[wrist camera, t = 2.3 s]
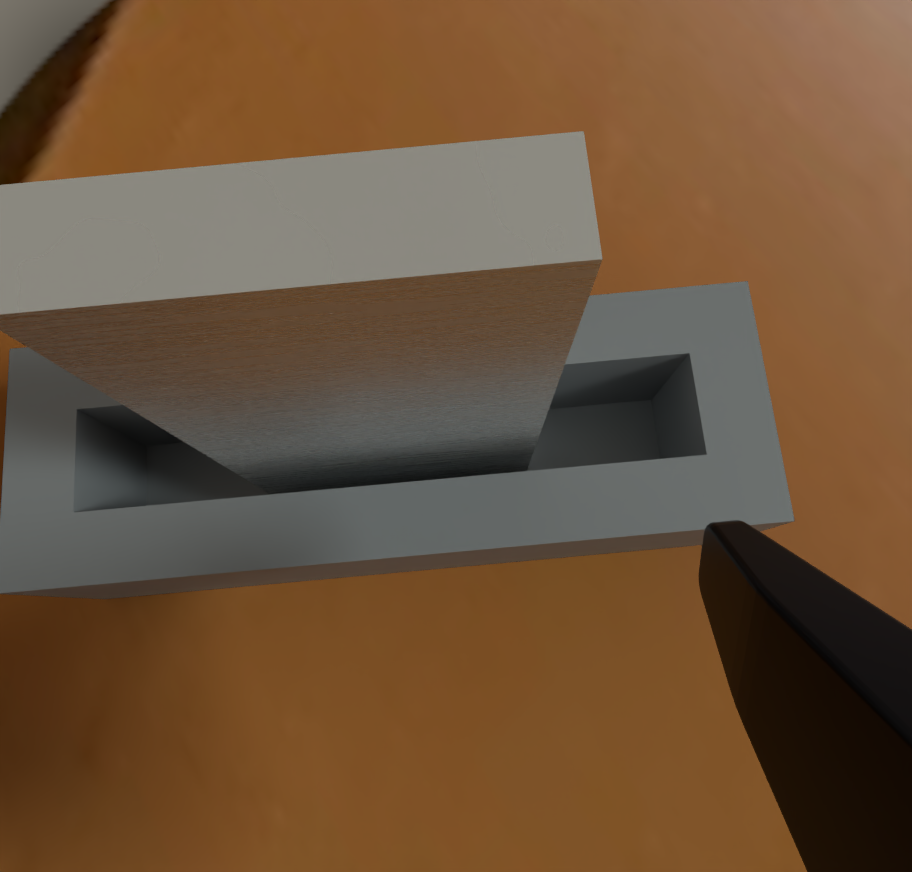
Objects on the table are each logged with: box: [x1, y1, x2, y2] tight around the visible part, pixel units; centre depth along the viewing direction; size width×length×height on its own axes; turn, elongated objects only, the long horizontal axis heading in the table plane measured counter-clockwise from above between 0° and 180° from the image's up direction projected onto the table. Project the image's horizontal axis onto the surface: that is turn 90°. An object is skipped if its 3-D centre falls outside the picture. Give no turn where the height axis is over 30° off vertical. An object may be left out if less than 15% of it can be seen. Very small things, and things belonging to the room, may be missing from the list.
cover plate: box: [0, 131, 602, 494], centre depth 13 cm, size 1×6×12 cm, turn 95°
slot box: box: [0, 281, 794, 599], centre depth 18 cm, size 5×16×4 cm, turn 95°
